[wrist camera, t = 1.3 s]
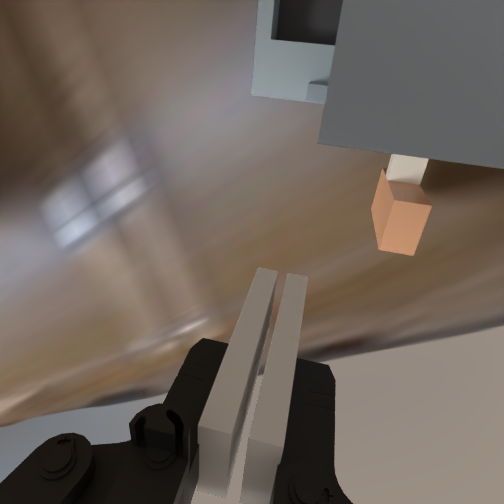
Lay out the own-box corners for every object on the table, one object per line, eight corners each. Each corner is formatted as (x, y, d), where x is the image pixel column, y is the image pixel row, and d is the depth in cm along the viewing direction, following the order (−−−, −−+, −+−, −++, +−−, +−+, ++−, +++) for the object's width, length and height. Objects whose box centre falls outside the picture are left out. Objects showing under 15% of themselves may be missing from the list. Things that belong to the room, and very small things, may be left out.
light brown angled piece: (331, 202, 27) (328, 241, 22) (415, -193, 17) (451, -310, 11) (440, 219, 26) (467, 265, 21) (601, -192, 16) (741, -322, 10)
